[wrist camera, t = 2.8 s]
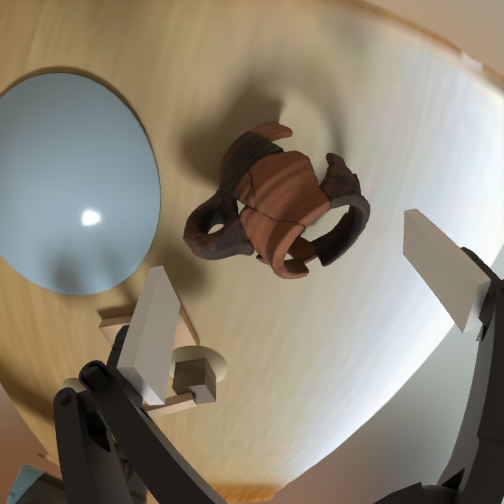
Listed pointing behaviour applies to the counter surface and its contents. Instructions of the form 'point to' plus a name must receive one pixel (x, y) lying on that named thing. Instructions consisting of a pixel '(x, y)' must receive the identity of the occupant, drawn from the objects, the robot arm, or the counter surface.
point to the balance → (176, 367)
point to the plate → (74, 185)
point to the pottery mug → (276, 206)
